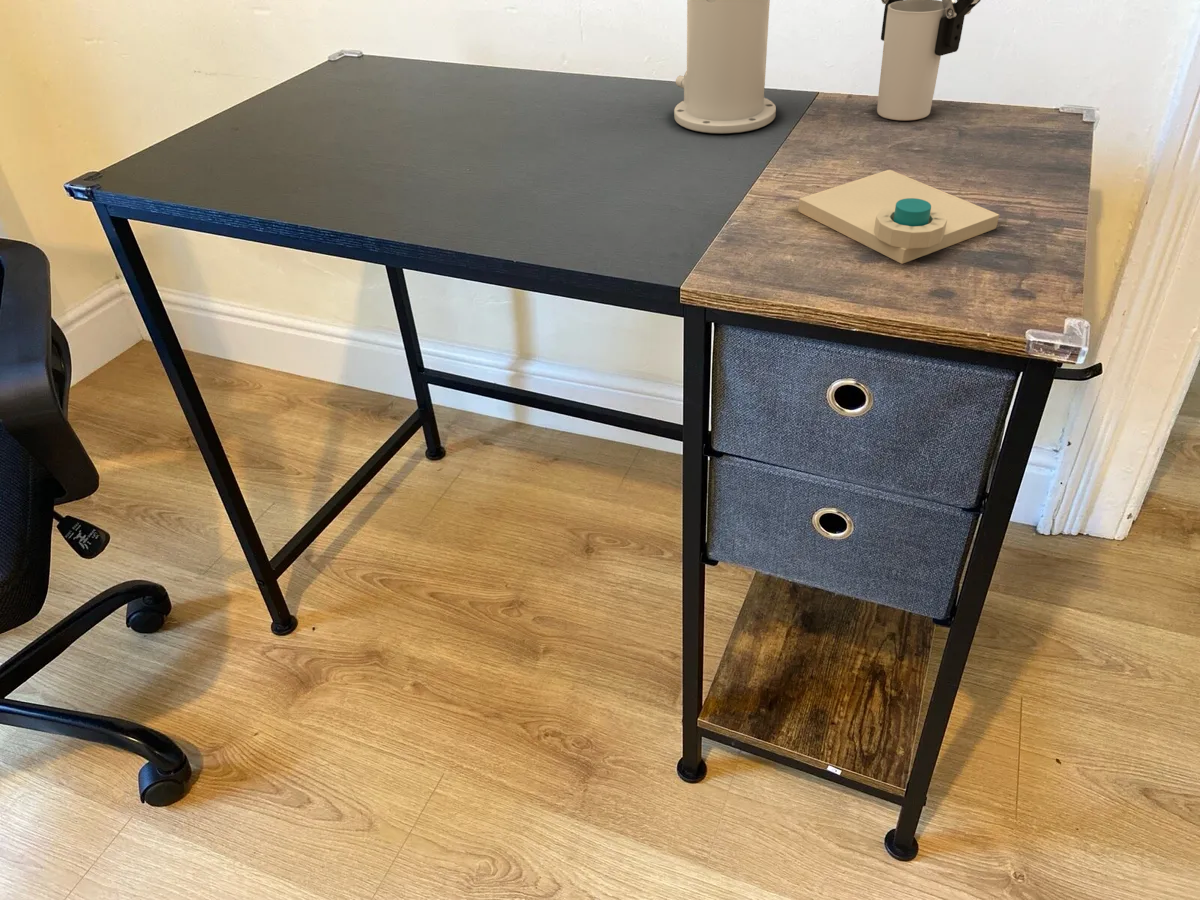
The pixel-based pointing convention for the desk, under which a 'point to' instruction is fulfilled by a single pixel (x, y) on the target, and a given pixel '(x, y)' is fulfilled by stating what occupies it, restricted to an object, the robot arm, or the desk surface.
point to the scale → (871, 212)
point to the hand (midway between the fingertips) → (918, 45)
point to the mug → (909, 59)
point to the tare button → (912, 212)
